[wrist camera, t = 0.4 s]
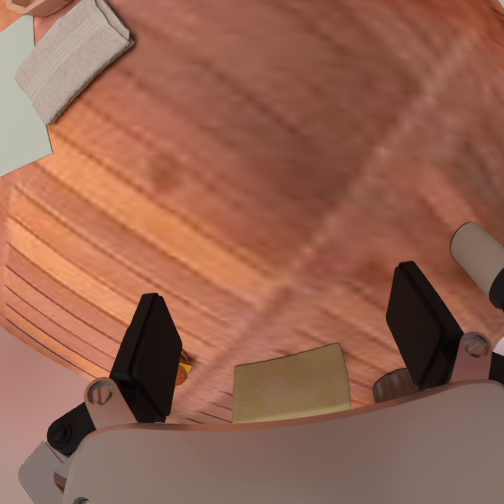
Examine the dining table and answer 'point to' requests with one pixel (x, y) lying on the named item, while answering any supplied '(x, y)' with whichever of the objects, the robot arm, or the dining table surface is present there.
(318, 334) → the dining table surface
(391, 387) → the plant pot
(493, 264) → the travel mug
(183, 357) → the hamburger
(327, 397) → the olive green box
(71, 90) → the washcloth
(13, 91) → the mat
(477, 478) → the robot arm
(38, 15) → the bowl
